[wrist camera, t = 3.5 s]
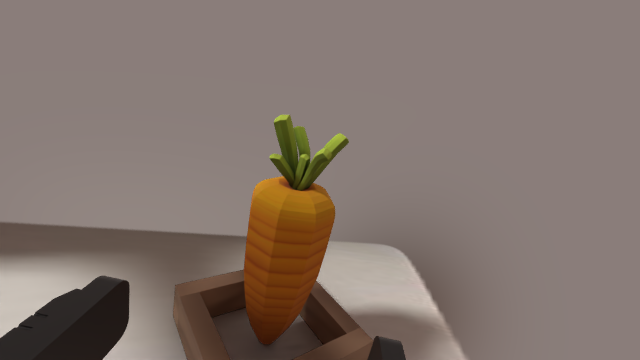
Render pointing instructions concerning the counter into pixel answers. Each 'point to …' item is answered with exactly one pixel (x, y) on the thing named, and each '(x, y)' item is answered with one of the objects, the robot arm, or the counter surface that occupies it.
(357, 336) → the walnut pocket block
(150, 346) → the counter surface
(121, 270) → the counter surface
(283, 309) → the carrot
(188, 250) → the counter surface
